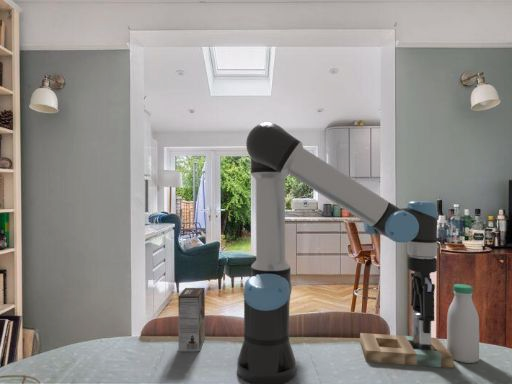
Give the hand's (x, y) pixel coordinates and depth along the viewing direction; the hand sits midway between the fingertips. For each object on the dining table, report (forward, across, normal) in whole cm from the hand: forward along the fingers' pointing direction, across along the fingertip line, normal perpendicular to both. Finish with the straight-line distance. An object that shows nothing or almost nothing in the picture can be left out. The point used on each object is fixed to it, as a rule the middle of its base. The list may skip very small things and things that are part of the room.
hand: (421, 338), depth 98 cm
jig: (+5, 0, +5) cm, 7 cm away
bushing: (+5, 0, 0) cm, 5 cm away
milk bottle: (+5, +1, -11) cm, 12 cm away
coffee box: (+5, -4, +66) cm, 66 cm away
